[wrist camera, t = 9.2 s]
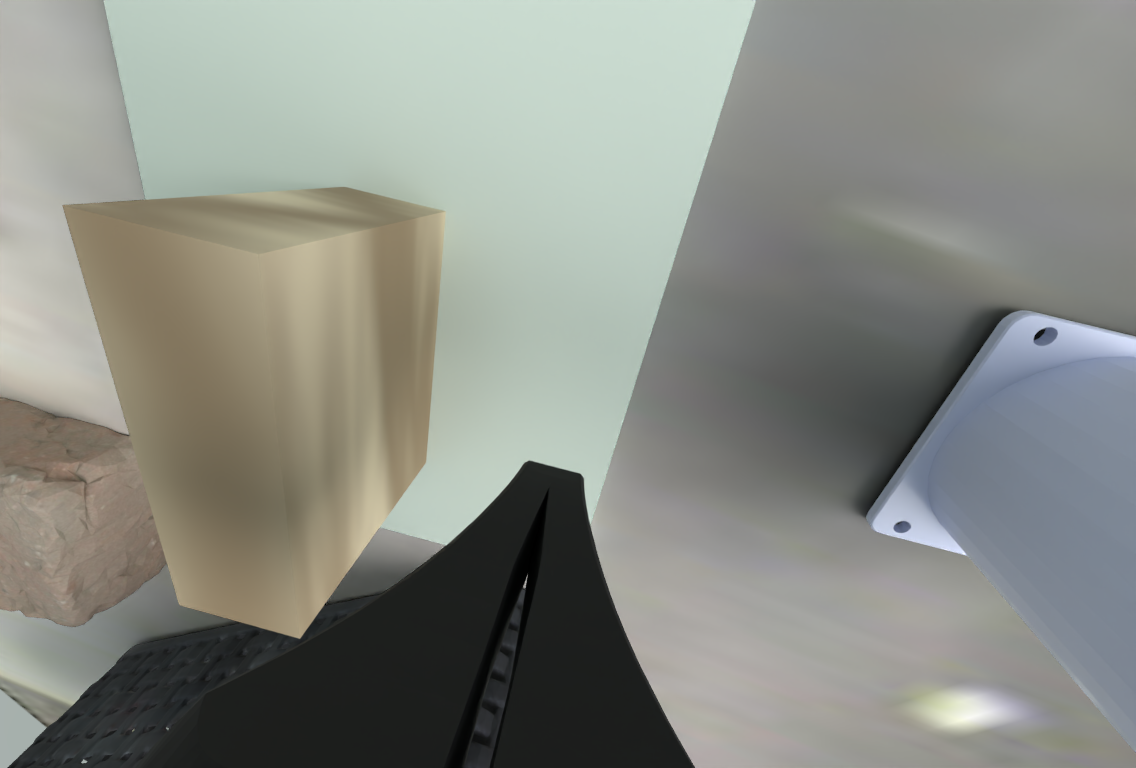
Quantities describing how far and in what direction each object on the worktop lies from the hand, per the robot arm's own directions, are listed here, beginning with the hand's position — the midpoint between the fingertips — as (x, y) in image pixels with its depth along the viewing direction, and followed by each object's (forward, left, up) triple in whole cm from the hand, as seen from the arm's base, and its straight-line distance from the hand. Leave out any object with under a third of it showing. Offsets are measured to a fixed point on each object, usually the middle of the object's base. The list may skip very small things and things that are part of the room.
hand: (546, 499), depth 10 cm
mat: (+6, -2, -5) cm, 8 cm away
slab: (+6, -1, -5) cm, 8 cm away
